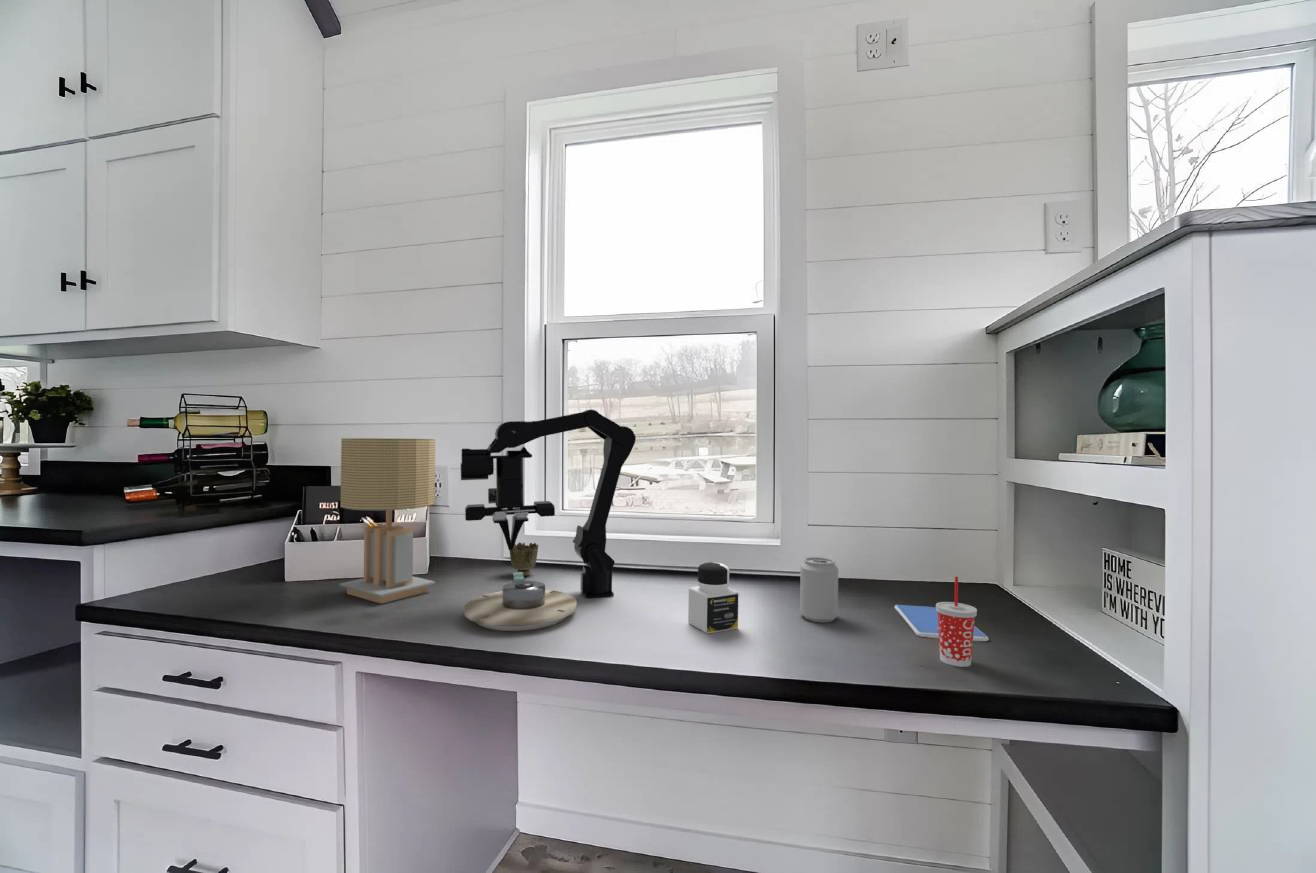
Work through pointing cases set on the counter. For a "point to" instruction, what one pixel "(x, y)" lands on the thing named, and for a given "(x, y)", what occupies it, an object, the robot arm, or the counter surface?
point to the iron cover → (523, 595)
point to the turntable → (494, 614)
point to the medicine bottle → (713, 600)
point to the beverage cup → (956, 631)
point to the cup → (524, 557)
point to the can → (819, 589)
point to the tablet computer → (928, 621)
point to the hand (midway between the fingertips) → (510, 549)
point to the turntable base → (520, 628)
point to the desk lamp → (387, 509)
